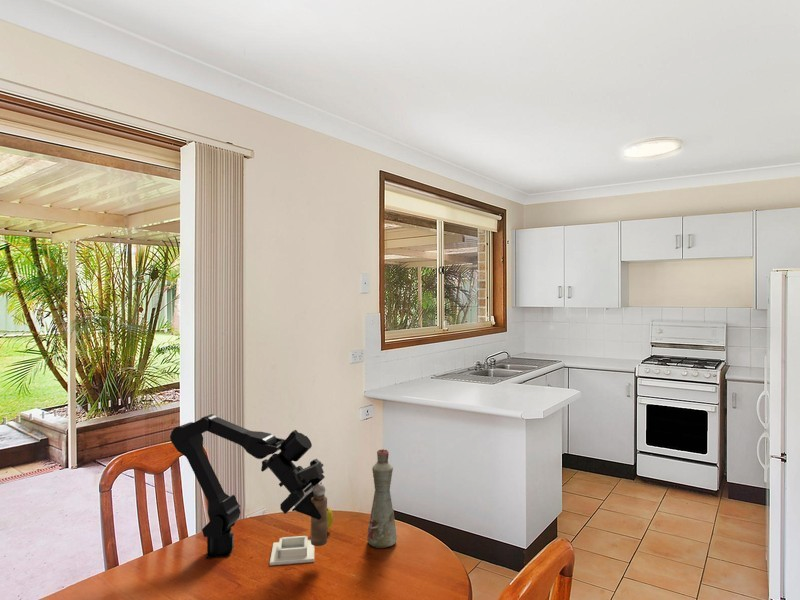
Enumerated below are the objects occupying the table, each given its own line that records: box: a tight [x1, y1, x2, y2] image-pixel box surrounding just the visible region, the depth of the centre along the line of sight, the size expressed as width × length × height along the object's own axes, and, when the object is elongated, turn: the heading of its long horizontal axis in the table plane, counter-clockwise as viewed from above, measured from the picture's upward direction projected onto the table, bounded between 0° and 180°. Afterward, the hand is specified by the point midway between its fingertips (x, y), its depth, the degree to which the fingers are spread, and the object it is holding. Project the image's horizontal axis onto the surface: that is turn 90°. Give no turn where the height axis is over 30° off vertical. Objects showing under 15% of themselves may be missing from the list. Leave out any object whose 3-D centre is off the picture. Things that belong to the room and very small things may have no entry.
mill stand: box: [269, 535, 315, 566], centre depth 149 cm, size 12×12×3 cm
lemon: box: [327, 506, 334, 530], centre depth 164 cm, size 6×6×8 cm
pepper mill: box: [310, 483, 328, 547], centre depth 143 cm, size 4×4×16 cm
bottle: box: [366, 449, 398, 549], centre depth 155 cm, size 9×9×28 cm
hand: (323, 515), depth 143 cm, fingers closed on pepper mill, 4 cm apart
